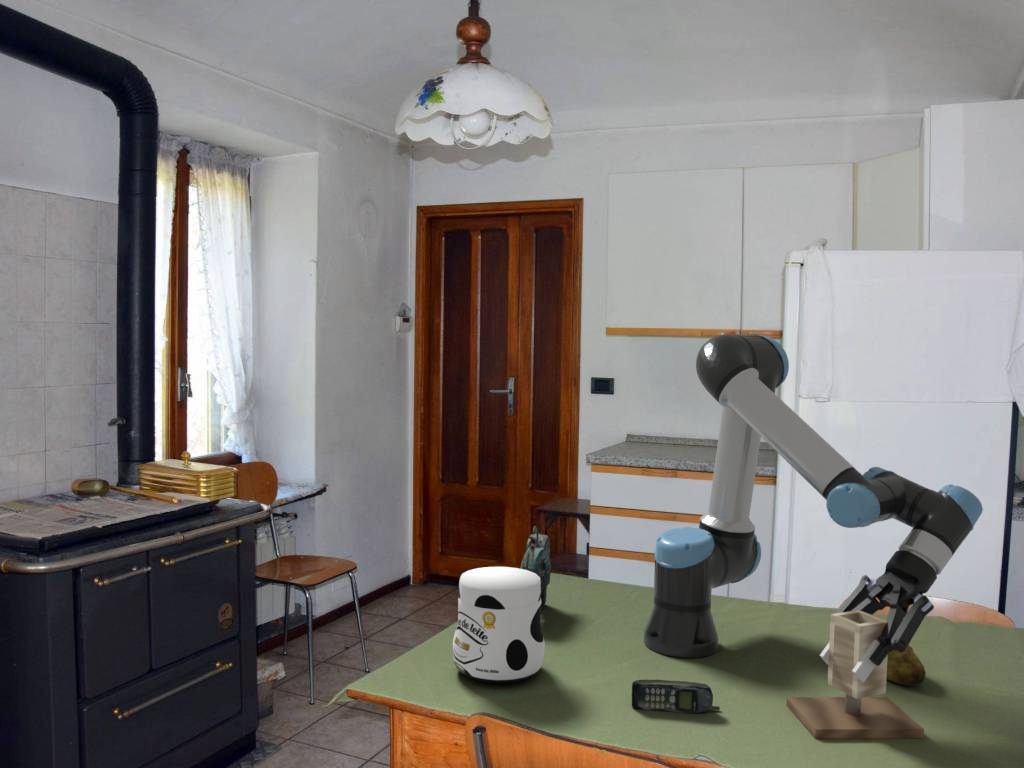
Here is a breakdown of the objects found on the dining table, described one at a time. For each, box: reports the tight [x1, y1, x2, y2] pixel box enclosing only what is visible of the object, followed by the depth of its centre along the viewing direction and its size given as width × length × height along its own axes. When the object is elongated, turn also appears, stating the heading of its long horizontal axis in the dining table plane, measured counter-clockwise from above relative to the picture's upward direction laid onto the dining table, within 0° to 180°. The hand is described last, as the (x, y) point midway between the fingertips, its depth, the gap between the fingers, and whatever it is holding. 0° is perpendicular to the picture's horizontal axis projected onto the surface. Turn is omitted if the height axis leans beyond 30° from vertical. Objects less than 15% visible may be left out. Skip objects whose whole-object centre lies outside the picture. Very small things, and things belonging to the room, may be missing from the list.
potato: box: [886, 643, 926, 687], centre depth 162 cm, size 8×13×8 cm, turn 177°
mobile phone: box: [631, 679, 720, 714], centre depth 146 cm, size 5×3×15 cm
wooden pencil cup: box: [827, 610, 888, 699], centre depth 142 cm, size 6×6×12 cm
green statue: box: [519, 525, 552, 609], centre depth 192 cm, size 20×6×20 cm, turn 169°
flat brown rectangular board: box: [785, 693, 925, 740], centre depth 143 cm, size 18×12×9 cm, turn 94°
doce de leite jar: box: [451, 566, 546, 684], centre depth 159 cm, size 17×17×18 cm
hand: (841, 668), depth 141 cm, fingers closed on wooden pencil cup, 6 cm apart
